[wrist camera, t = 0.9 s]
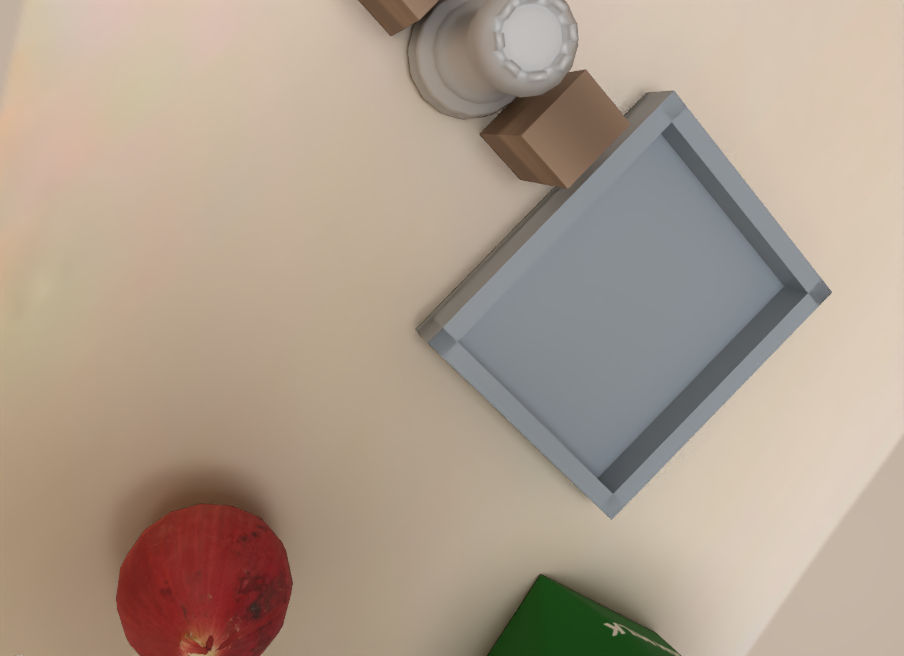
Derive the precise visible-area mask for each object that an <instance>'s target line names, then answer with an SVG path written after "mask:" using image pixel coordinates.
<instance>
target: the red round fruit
mask: <svg viewBox="0 0 904 656" xmlns="http://www.w3.org/2000/svg"><path fill="white" fill-rule="evenodd" d="M292 585H293V581H292V577H291V572H290V567H289V563H288V558H287V553H286V550H285V548H284V546H283V543H282V542H281V540H280V539H279V538H278V537H277V536H276V535H275V533H274V532H273V531H272V530H271V529H270V528H269V526H268V525H267V524H266V523H265V522H264V521H263V519H262V518H260V517H257V516H255V515H253V514H250V513H248V512H246V511H243V510H241V509H238V508H236V507H234V506H226V505H213V504H198V505H194V506H191V507H187V508H183V509H179V510H176V511H172V512H170V513H168V514H167V515H165V516H164V517H163V518H161V519H160V520H158V521H157V522H155V523H154V524H153V525H151V526H150V527H148V528H147V529H145V530H144V531H143V533H142V534H141V536H140V537H139V539H138V540H137V541H136V543H135V544H134V546H133V547H132V549H131V550H130V551H129V553H128V554H127V556H126V558H125V560H124V562H123V564H122V566H121V568H120V574H119V581H118V588H117V596H116V601H117V610H118V613H119V617H120V620H121V623H122V626H123V629H124V632H125V635H126V638H127V640H128V642H129V643H130V645H131V646H132V647H133V648H134V649H135V650H136V652H137V653H138V654H139V655H140V656H260V655H261V654H262V653H263V652H264V650H265V649H266V648H267V647H268V645H269V644H270V643H271V642H272V640H273V639H274V638H275V637H276V635H277V634H278V633H279V631H280V629H281V628H282V626H283V623H284V619H285V615H286V611H287V607H288V604H289V600H290V596H291V591H292Z"/></svg>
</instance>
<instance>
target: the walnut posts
mask: <svg viewBox="0 0 904 656" xmlns="http://www.w3.org/2000/svg"><path fill="white" fill-rule="evenodd" d="M359 1H360V2H361V3H362V5H363V6H364V7H365V8H366V9H367V10H368V11H369V12H370V13H371V14H372V16H373V17H374V18H375V19H376V20H377V21H378V22H379V23H380V24H381V26H382V27H383V28H384V29H385V30H386V31H387V32H388V33H389V34H390V36H392V35H394V34H396V33H397V32H399V31H401V30H403V29H405V28H406V27H408V26H410V25H412V24H413V23H415V22H417V21H419V20H420V19H421V18H422V17H423V16H424V15H425V14H426V13H427V12H428V11H429V10H430V9H431V8H432V7H433V6H434V5H435V4H436V3H437V2H438V1H439V0H359ZM630 125H631V124H630V123H629V121H628V120H627V119H626V118H625V117H624V115H623V114H622V113H621V112H620V110H619V109H618V108H617V107H616V106H615V104H614V103H613V102H612V101H611V99H610V98H609V97H608V96H607V95H606V93H605V92H604V91H603V90H602V88H601V87H600V86H599V85H598V84H597V82H596V81H595V80H594V79H593V77H592V76H591V75H590V74H589V73H588V71H587V70H580V71H574V72H568V73H567V74H566V75H565V77H564V78H563V80H562V81H561V82H560V84H559V85H557V86H555V87H554V88H552V89H550V90H549V91H547V92H545V93H544V94H542V95H537V96H529V97H517V96H516V97H515V99H514V100H513V101H512V103H510V104H509V105H508V106H507V107H506V108H505V109H504V110H503V111H502V112H501V113H500V114H499V115H498V116H497V117H496V118H495V119H494V120H493V121H492V122H491V123H490V124H489V125H488V126H487V127H486V128H485V129H484V130H483V131H482V132H481V133H480V135H481V137H482V138H483V139H484V140H485V141H486V142H487V143H488V144H489V145H490V147H491V148H492V149H493V150H494V151H495V152H496V153H497V154H498V155H499V156H500V158H501V159H502V160H503V161H504V162H505V163H506V164H507V165H508V166H509V168H510V169H511V170H512V171H513V172H514V173H515V174H516V175H517V176H518V178H519V179H520V180H524V181H529V182H535V183H540V184H545V185H551V186H556V187H562V188H567V189H568V188H569V187H570V186H571V185H572V184H573V183H574V182H575V181H576V180H577V179H578V178H579V177H580V176H581V175H582V174H583V173H584V172H585V171H586V170H587V169H588V168H589V167H590V166H591V165H592V164H593V163H594V162H595V161H596V160H597V159H598V158H599V157H600V156H601V155H602V154H603V152H604V151H605V150H606V149H607V148H608V147H609V146H610V145H611V144H612V143H613V142H614V141H615V140H616V139H617V138H618V137H619V136H620V135H621V134H622V133H623V132H624V131H625V130H626V129H627V128H628V127H629V126H630Z"/></svg>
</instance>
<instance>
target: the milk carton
mask: <svg viewBox="0 0 904 656" xmlns="http://www.w3.org/2000/svg"><path fill="white" fill-rule="evenodd" d="M488 656H681V655H680V654H679V653H678V652H677V651H676V650H675V649H673V648H672V647H671V646H670V645H669V644H668V643H667V642H666V641H664V640H663V639H662V638H661V637H660V636H659V635H658V634H657V633H655V632H653V631H651V630H649V629H647V628H645V627H643V626H641V625H639V624H637V623H635V622H633V621H631V620H629V619H627V618H625V617H623V616H622V615H620V614H618V613H616V612H614V611H612V610H610V609H608V608H606V607H604V606H602V605H600V604H598V603H596V602H594V601H592V600H590V599H588V598H586V597H584V596H582V595H580V594H578V593H577V592H575V591H573V590H571V589H569V588H567V587H565V586H563V585H561V584H559V583H557V582H555V581H553V580H551V579H549V578H547V577H545V576H543V575H540V576H539V578H538V579H537V581H536V582H535V584H534V585H533V587H532V589H531V590H530V592H529V593H528V595H527V596H526V598H525V599H524V601H523V602H522V604H521V605H520V607H519V608H518V610H517V611H516V613H515V615H514V616H513V618H512V619H511V621H510V622H509V624H508V625H507V627H506V628H505V630H504V631H503V633H502V634H501V636H500V637H499V639H498V641H497V642H496V644H495V645H494V647H493V648H492V650H491V651H490V653H489V654H488Z"/></svg>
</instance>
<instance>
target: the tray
mask: <svg viewBox="0 0 904 656" xmlns="http://www.w3.org/2000/svg"><path fill="white" fill-rule="evenodd" d="M624 117H625V118H626V119H627V120H628V121H629V123H630V124H631V125H630V126H629V127H628V128H627V129H626V130H625V131H624V132H623V133H622V134H621V135H620V136H619V137H618V138H617V139H616V140H615V141H614V142H613V143H612V144H611V145H610V146H609V147H608V148H607V149H606V150H605V151H604V152H603V154H602V155H601V156H600V157H599V158H598V159H597V160H596V161H595V162H594V163H593V164H592V165H591V166H590V167H589V168H588V169H587V170H586V171H585V172H584V173H583V174H582V175H581V176H580V177H579V178H578V179H577V180H576V181H575V182H574V183H573V184H572V185H571V186H570V187H569V188H568V189H567V188H562V187H556V186H555V187H554V188H553V189H552V190H551V192H550V193H549V194H548V195H547V196H546V197H545V198H544V199H543V200H542V201H541V202H540V203H539V204H538V205H537V206H536V207H535V208H534V209H533V210H532V211H531V212H530V213H529V214H528V215H527V216H526V217H525V218H524V219H523V220H522V221H521V222H520V223H519V224H518V225H517V226H516V227H515V228H514V229H513V230H512V231H511V232H510V233H509V235H508V236H507V237H506V238H505V239H504V240H503V241H502V242H501V243H500V244H499V245H498V246H497V247H496V248H495V249H494V250H493V251H492V252H491V253H490V254H489V255H488V256H487V257H486V258H485V259H484V260H483V261H482V262H481V263H480V264H479V265H478V266H477V267H476V268H475V269H474V270H473V271H472V272H471V273H470V274H469V275H468V277H467V278H466V279H465V280H464V281H463V282H462V283H461V284H460V285H459V286H458V287H457V288H456V289H455V290H454V291H453V292H452V293H451V294H450V295H449V296H448V297H447V298H446V299H445V300H444V301H443V302H442V303H441V304H440V305H439V306H438V307H437V308H436V309H435V310H434V311H433V312H432V313H431V314H430V315H429V316H428V317H427V319H426V320H425V321H424V322H423V323H422V324H421V325H420V326H419V327H418V328H417V329H416V331H417V332H418V333H419V334H420V335H421V336H422V337H423V338H424V340H425V341H426V342H427V343H428V344H429V345H430V346H431V347H432V348H433V349H434V350H435V351H436V352H437V353H439V354H440V355H441V356H442V357H443V358H444V359H445V360H446V361H447V362H448V363H449V364H450V365H451V366H452V367H453V368H454V369H455V370H456V371H457V372H458V373H459V374H460V375H461V376H462V377H463V378H465V379H466V380H467V381H468V382H469V383H470V384H471V385H472V386H473V387H474V388H475V389H476V390H477V391H478V392H479V393H480V394H481V395H482V396H483V397H484V398H485V399H486V400H487V401H488V402H489V403H491V404H492V405H493V406H494V407H495V408H496V409H497V410H498V411H499V412H500V413H501V414H502V415H503V416H504V417H505V418H506V419H507V420H508V421H509V422H510V423H511V424H512V425H513V426H514V427H515V428H517V429H518V430H519V431H520V432H521V433H522V434H523V435H524V436H525V437H526V438H527V439H528V440H529V441H530V442H531V443H532V444H533V445H534V446H535V447H536V448H537V449H538V450H539V451H540V452H541V453H543V454H544V455H545V456H546V457H547V458H548V459H549V460H550V461H551V462H552V463H553V464H554V465H555V466H556V467H557V468H558V469H559V470H560V471H561V472H562V473H563V474H564V475H565V476H566V477H567V478H569V479H570V480H571V481H572V482H573V483H574V484H575V485H576V486H577V487H578V488H579V489H580V490H581V491H582V492H583V493H584V494H585V495H586V496H587V497H588V498H589V499H590V500H591V501H592V502H593V503H595V504H596V505H597V506H598V507H599V508H600V509H601V510H602V511H603V512H604V513H605V514H606V515H607V516H608V517H609V518H610V519H611V520H612V519H613V518H614V517H615V516H616V515H617V514H618V513H619V512H620V511H621V510H622V509H623V507H624V506H625V505H626V504H627V503H628V502H629V501H630V500H631V499H632V498H633V497H634V496H635V495H636V494H637V493H638V492H639V491H640V490H641V489H642V488H643V487H644V486H645V485H646V484H647V483H648V482H649V481H650V480H651V479H652V478H653V477H654V476H655V474H656V473H657V472H658V471H659V470H660V469H661V468H662V467H663V466H664V465H665V464H666V463H667V462H668V461H669V460H670V459H671V458H672V457H673V456H674V455H675V454H676V453H677V452H678V451H679V450H680V449H681V448H682V447H683V446H684V445H685V444H686V443H687V441H688V440H689V439H690V438H691V437H692V436H693V435H694V434H695V433H696V432H697V431H698V430H699V429H700V428H701V427H702V426H703V425H704V424H705V423H706V422H707V421H708V420H709V419H710V418H711V417H712V416H713V415H714V414H715V413H716V412H717V411H718V410H719V408H720V407H721V406H722V405H723V404H724V403H725V402H726V401H727V400H728V399H729V398H730V397H731V396H732V395H733V394H734V393H735V392H736V391H737V390H738V389H739V388H740V387H741V386H742V385H743V384H744V383H745V382H746V381H747V380H748V379H749V378H750V377H751V375H752V374H753V373H754V372H755V371H756V370H757V369H758V368H759V367H760V366H761V365H762V364H763V363H764V362H765V361H766V360H767V359H768V358H769V357H770V356H771V355H772V354H773V353H774V352H775V351H776V350H777V349H778V348H779V347H780V346H781V345H782V344H783V342H784V341H785V340H786V339H787V338H788V337H789V336H790V335H791V334H792V333H793V332H794V331H795V330H796V329H797V328H798V327H799V326H800V325H801V324H802V323H803V322H804V321H805V320H806V319H807V318H808V317H809V316H810V315H811V314H812V313H813V312H814V311H815V309H816V308H817V307H818V306H819V305H820V304H821V303H822V302H823V301H824V300H825V299H826V298H827V297H828V296H829V295H830V294H831V293H832V291H831V290H830V289H829V288H828V286H827V285H826V284H825V283H824V281H823V280H822V279H821V277H820V276H819V275H818V274H817V272H816V271H815V270H814V269H813V267H812V266H811V265H810V263H809V262H808V261H807V260H806V258H805V257H804V256H803V254H802V253H801V252H800V251H799V249H798V248H797V247H796V246H795V244H794V243H793V242H792V240H791V239H790V238H789V237H788V235H787V234H786V233H785V231H784V230H783V229H782V228H781V226H780V225H779V224H778V223H777V221H776V220H775V219H774V217H773V216H772V215H771V214H770V212H769V211H768V210H767V209H766V207H765V206H764V205H763V203H762V202H761V201H760V200H759V198H758V197H757V196H756V194H755V193H754V192H753V191H752V189H751V188H750V187H749V186H748V184H747V183H746V182H745V180H744V179H743V178H742V177H741V175H740V174H739V173H738V172H737V170H736V169H735V168H734V166H733V165H732V164H731V163H730V161H729V160H728V159H727V157H726V156H725V155H724V154H723V152H722V151H721V150H720V149H719V147H718V146H717V145H716V143H715V142H714V141H713V140H712V138H711V137H710V136H709V134H708V133H707V132H706V131H705V129H704V128H703V127H702V126H701V124H700V123H699V122H698V120H697V119H696V118H695V117H694V115H693V114H692V113H691V112H690V110H689V109H688V108H687V106H686V105H685V104H684V103H683V101H682V100H681V99H680V97H679V96H678V95H677V94H676V92H675V91H662V92H650V93H646V94H645V95H644V96H643V97H642V98H641V99H640V100H639V101H638V102H637V103H636V104H635V105H634V106H633V108H632V109H631V110H630V111H629V112H628V113H627V114H626V115H625V116H624Z"/></svg>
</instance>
